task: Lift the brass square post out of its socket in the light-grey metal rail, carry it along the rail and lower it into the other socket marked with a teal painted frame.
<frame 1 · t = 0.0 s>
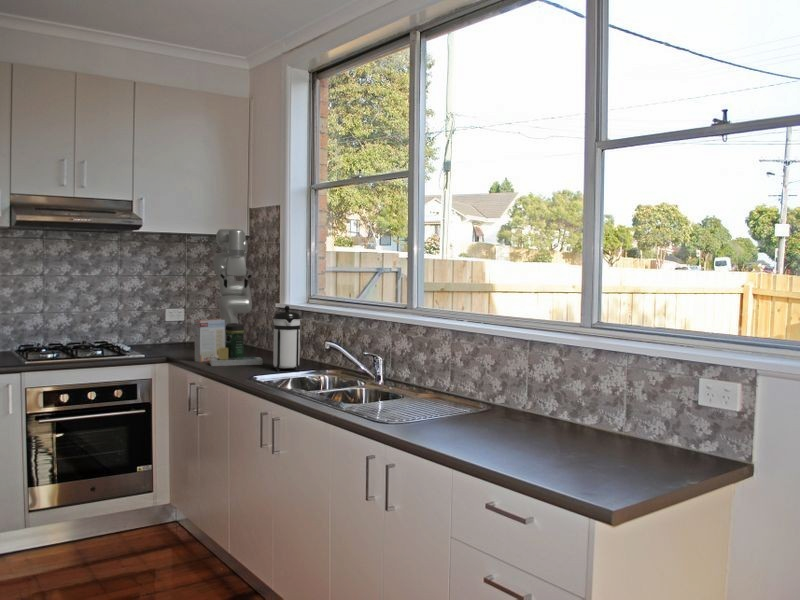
hand: (235, 287, 366), 37 cm above the counter, tool pointing down, fingers open, 9 cm apart
brass post: (223, 364, 347), resting on rail
coffee press: (284, 369, 339), on the counter
coffee jar: (234, 359, 370), on the counter
rail: (236, 365, 350), on the counter
cracker box: (209, 362, 360), on the counter
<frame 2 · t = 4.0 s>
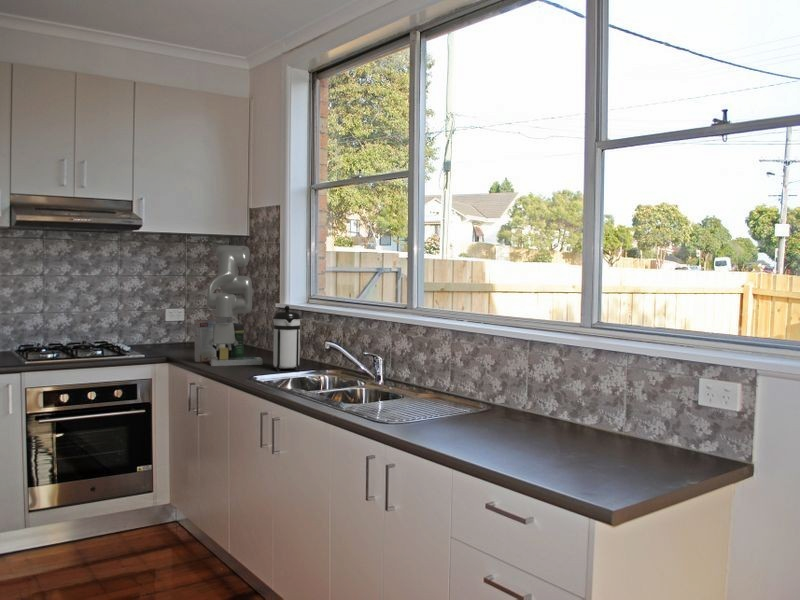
hand: (223, 358, 347), 4 cm above the counter, tool pointing down, fingers closed on brass post, 4 cm apart
brass post: (223, 364, 347), point 1 cm above the counter, touching gripper, rail
everything else where it was.
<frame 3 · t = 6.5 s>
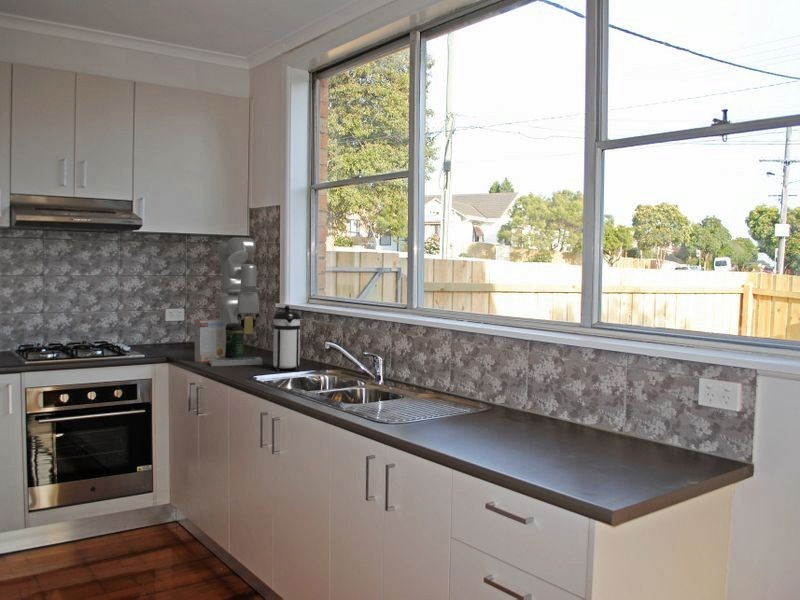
hand: (248, 327, 351), 18 cm above the counter, tool pointing down, fingers closed on brass post, 4 cm apart
brass post: (248, 333, 351), point 15 cm above the counter, touching gripper
everything else where it was.
when the fingers open (5 cm above the counter, at t = 9.0 s): brass post drops 1 cm, resting on rail.
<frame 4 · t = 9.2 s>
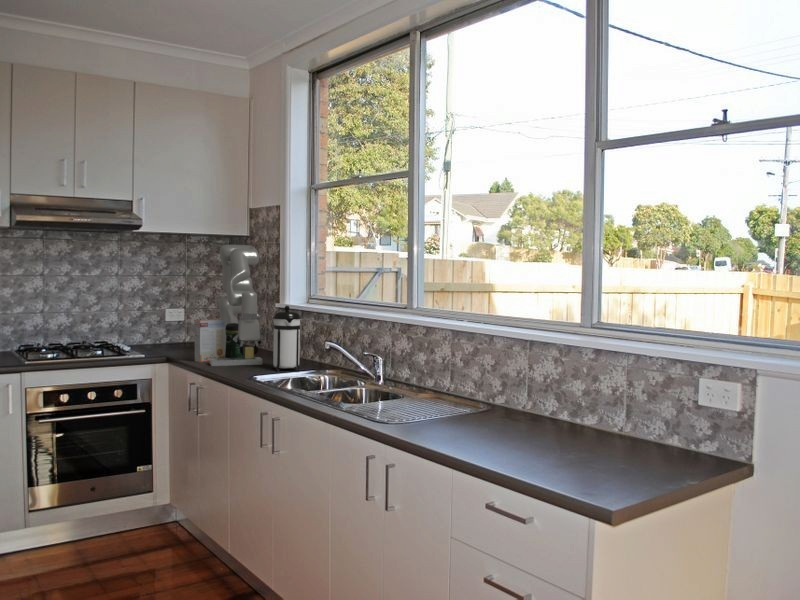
hand: (248, 354, 351), 5 cm above the counter, tool pointing down, fingers open, 5 cm apart
brass post: (248, 363, 352), resting on rail
everything else where it was.
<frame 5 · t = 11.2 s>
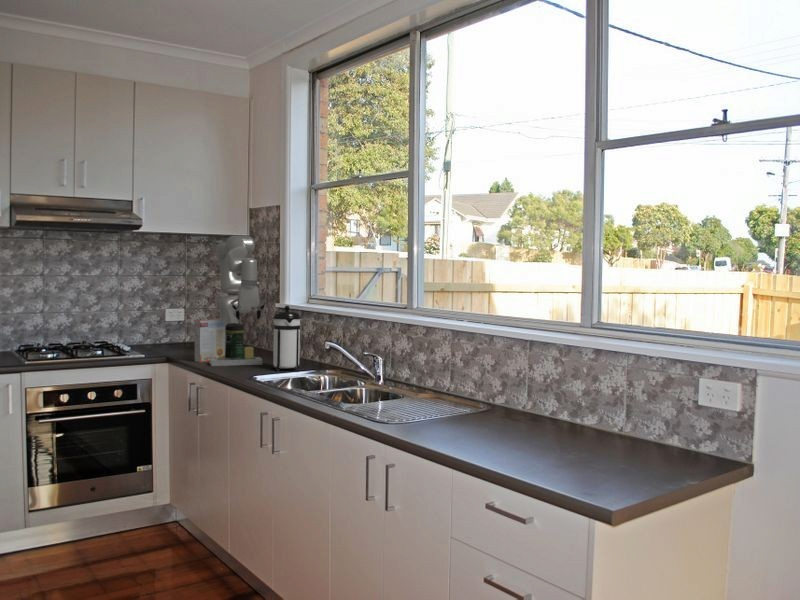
hand: (248, 319, 353), 22 cm above the counter, tool pointing down, fingers open, 9 cm apart
nothing on the counter moved.
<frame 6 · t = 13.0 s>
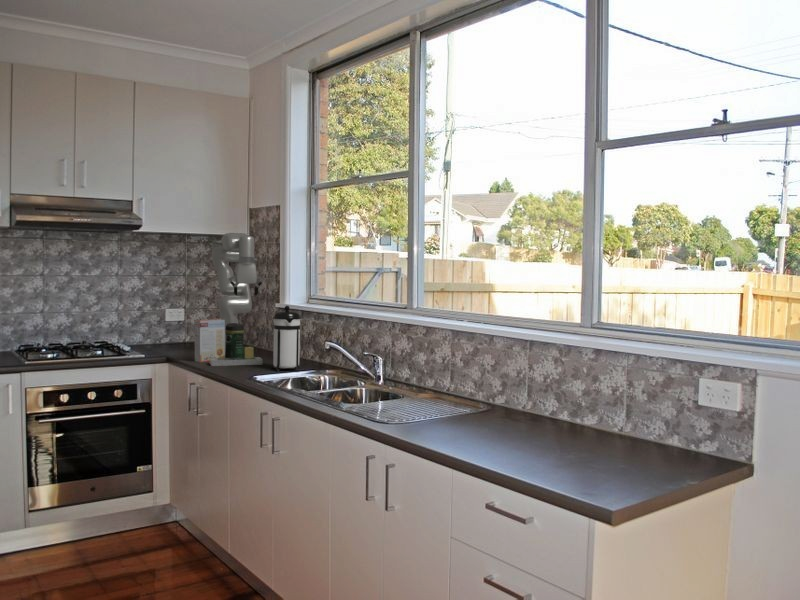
hand: (246, 295, 360), 33 cm above the counter, tool pointing down, fingers open, 9 cm apart
nothing on the counter moved.
at the end: brass post 0.0 cm from the target spot on the rail, point 0.5 cm above the rail's base; brass post tilted 0°; the gripper is holding nothing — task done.
